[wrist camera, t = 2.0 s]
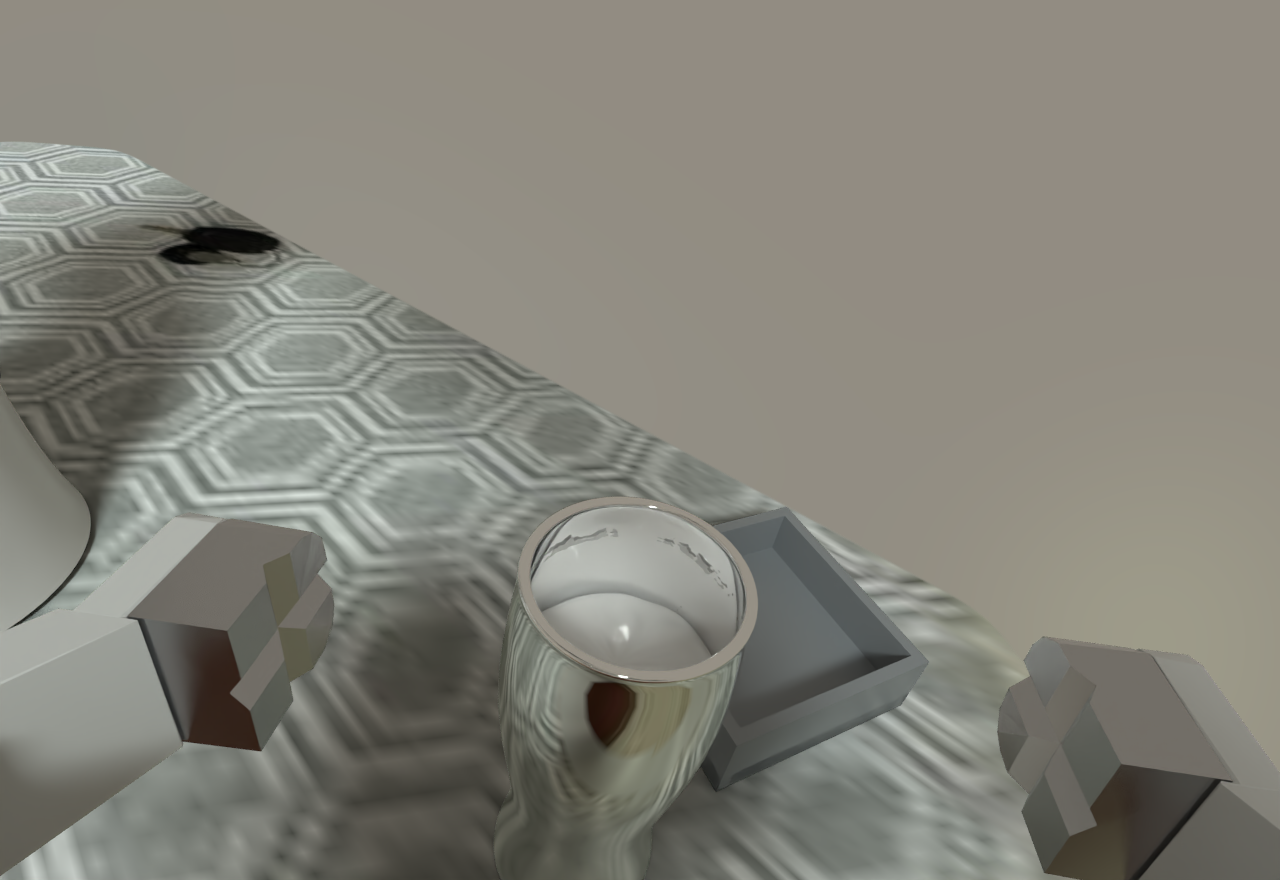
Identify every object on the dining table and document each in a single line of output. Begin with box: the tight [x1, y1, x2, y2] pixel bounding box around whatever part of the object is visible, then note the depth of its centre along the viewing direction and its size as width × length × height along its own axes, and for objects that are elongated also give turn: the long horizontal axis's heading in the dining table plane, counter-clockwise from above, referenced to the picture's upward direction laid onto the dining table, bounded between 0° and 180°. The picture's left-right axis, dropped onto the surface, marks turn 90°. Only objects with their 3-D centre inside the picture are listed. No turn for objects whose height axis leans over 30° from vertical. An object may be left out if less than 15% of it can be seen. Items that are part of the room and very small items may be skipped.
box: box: [701, 507, 929, 791], centre depth 36 cm, size 11×11×4 cm
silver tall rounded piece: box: [493, 496, 758, 880], centre depth 24 cm, size 7×7×15 cm
